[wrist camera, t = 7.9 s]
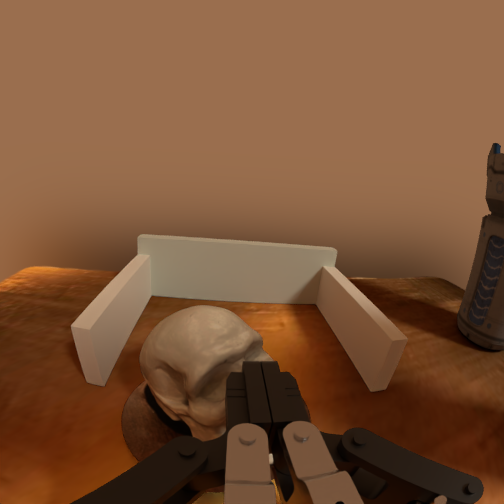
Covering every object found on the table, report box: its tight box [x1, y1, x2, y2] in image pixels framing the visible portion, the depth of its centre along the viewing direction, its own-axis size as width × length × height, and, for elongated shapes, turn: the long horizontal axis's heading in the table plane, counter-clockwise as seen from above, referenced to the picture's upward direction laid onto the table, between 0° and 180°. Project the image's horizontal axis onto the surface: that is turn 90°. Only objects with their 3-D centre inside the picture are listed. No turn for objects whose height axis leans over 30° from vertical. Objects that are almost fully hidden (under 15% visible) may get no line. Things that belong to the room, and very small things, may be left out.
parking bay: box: [71, 234, 408, 392], centre depth 24 cm, size 23×18×7 cm
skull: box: [122, 305, 311, 493], centre depth 15 cm, size 12×10×10 cm
